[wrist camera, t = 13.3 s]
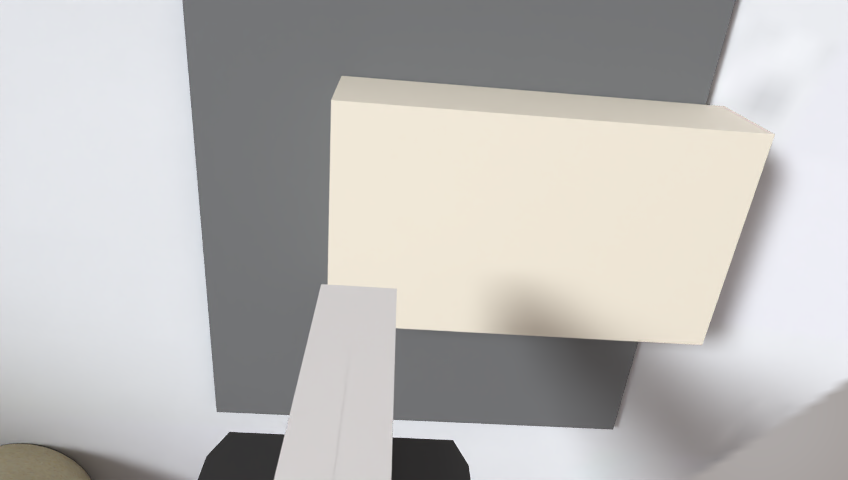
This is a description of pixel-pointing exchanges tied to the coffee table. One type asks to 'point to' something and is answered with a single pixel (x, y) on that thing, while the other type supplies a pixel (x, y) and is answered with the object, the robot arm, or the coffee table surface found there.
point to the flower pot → (37, 464)
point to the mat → (310, 177)
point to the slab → (538, 208)
